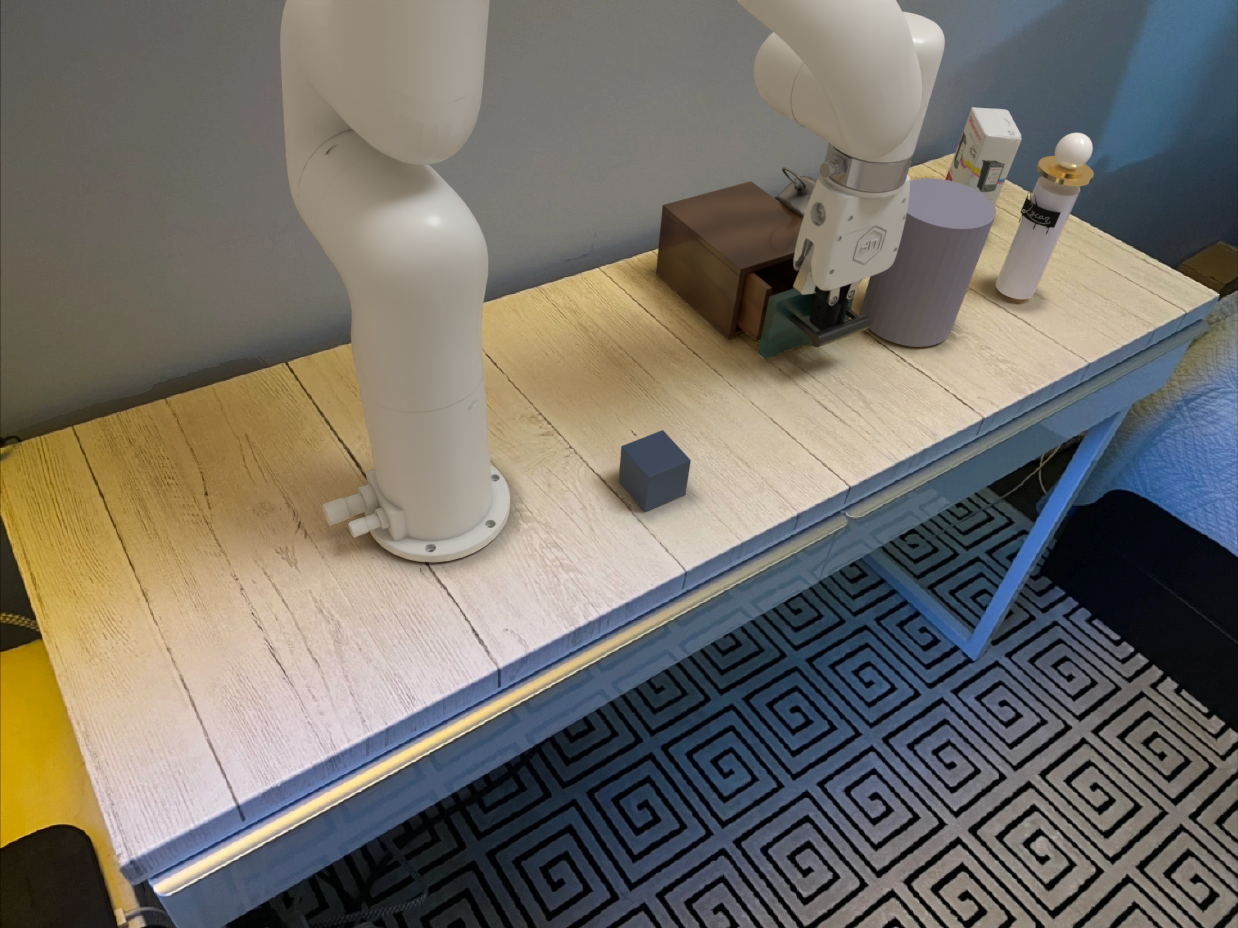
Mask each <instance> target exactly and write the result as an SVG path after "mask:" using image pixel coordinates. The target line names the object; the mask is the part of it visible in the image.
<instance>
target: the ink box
mask: <svg viewBox="0 0 1238 928" xmlns="http://www.w3.org/2000/svg"><path fill="white" fill-rule="evenodd" d="M1021 142H1022V134H1021V132H1020V130H1019V128H1018V126H1017V124H1016V122H1015V121H1014V118H1013V117H1012V115H1011V113H1010V111H1009V110H1008V109H1006V108H1005V109H1004V108H989V107H974V106H972V107H971V108H970V112H969V115H968V117H967V120H966V122H965V126H964V129H963V131H962V134H961V137H960V139H959V142H958V145H957V147H956V150H955V152H954V155H953V157H952V161H951V163H950V166H949V169H948V171H947V174H946V177H945V179H944V180H948V181H953V182H957V183H960V184H963V185H966V186H968V187H971V188H973V189H975V190H977V191H979V192H980V193H982V194H983V195H985V196H986V197H987V198H988V199H989V200H990V201H991V202H992V203H993V205H994V206H995V207H996V205H997V202H998V200H999V197H1000V195H1001V193H1002V190H1003V187H1004V185H1005V182H1006V179H1007V177H1008V174H1009V172H1010V169H1011V168H1012V165H1013V163H1014V159H1015V157H1016V155H1017V152H1018V149H1019V147H1020V145H1021Z"/></svg>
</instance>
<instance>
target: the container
mask: <svg viewBox="0 0 1238 928" xmlns="http://www.w3.org/2000/svg"><path fill="white" fill-rule="evenodd" d="M996 215H997V210H996V205H995V206H994V205H993V203H992V202H991V201H990V200H989V199H988V198H987V197H986V196H985V195H983V194H982V193H980V192H979V191H977V190H975V189H973V188H971V187H968V186H966V185H963V184H960V183H957V182H953V181H948V180H945V179H942V178H929V177H927V178H917V179H916V178H915V179H910V194H909V202H908V209H907V214H906V219H905V224H904V229H903V233H902V237H901V241H900V244H899V248H898V252H897V255H896V258H895V260H894V263H893V264H892V266H891V267H889V268H888V269H887V270H885V271H883V272H881V273H878V274H876V275H873V276H870V277H869V279H868V283H867V286H866V290H865V293H864V296H863V300H862V304H861V307H860V316H862V315H867V316H868V317H869V318H870V320H871V326H870V328H868V329H869V330H870V331H871V332H872V333H874V334H875V335H876V336H878V337H880V338H882V339H883V340H886V341H889V342H891V343H894V344H898V345H902V346H905V347H906V346H907V347H916V348H918V347H919V348H923V347H931V346H934V345H938V344H941V343H943V342H944V341H946V340H947V339H948V337H949V336H950V335H951V333H952V330H953V327H954V325H955V322H956V320H957V317H958V314H959V312H960V309H961V306H962V304H963V302H964V299H965V296H966V294H967V291H968V289H969V286H970V284H971V281H972V278H973V276H974V274H975V271H976V268H977V265H978V263H979V260H980V257H981V255H982V252H983V249H984V247H985V245H986V242H987V240H988V236H989V235H990V231H991V228H992V226H993V223H994V221H995V218H996Z"/></svg>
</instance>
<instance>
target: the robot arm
mask: <svg viewBox="0 0 1238 928" xmlns="http://www.w3.org/2000/svg"><path fill="white" fill-rule="evenodd" d="M735 1H736V2H737V3H738V4H739V5H740V6H741V7H742V8H743V9H744V10H746V11H747V12H748V13H749V14H750V15H752V16H753V17H754V18H756V19H757V20H758V21H759V22H761V23H762V24H763V25H764V26H766V28H767V29H769V30H770V31H772V33H770V34H769V35H768V36H767V37H766V38H765V40H764V41H763V43H761V45H760V47H759V49H758V51H757V53H756V56H755V59H754V65H753V81H754V84H755V87H756V90H757V92H758V93H759V95H760V96H761V98H762V99H763V100H764V101H765V102H766V104H767V105H768V106H770V107H771V108H772V109H774V110H775V111H777V112H778V113H779V114H781V115H783V116H784V117H786V118H788V119H790V120H791V121H793V122H794V123H796V124H797V125H799V126H800V127H802V128H805V129H807V130H808V131H810V132H811V133H813V134H815V135H816V136H818V137H819V138H820V139H823V140H824V141H826V142H827V143H828V144H827V149H826V152H825V157H824V161H823V162H822V163H821V164H820V166H819V173H820V175H819V176H818V178H817V179H816V180H817V182H816V185H815V187H814V189H813V192H812V195H811V197H810V200H809V203H808V205H807V208H806V211H805V214H804V218H803V221H802V224H801V228H800V231H799V235H798V239H797V243H796V248H795V253H794V263H793V265H794V269H795V270H797V271H799V273H798V275H797V277H796V280H795V282H794V285H793V288H794V289H795V290H797V291H798V292H799V293H800V294H802V295H806V294H813V293H815V298H814V302H813V306H812V310H811V314H810V319H809V320H810V323H811V324H813V325H814V326H815V327H816V328H818V329H819V330H820V331H821V330H824V329H827V328H830V327H832V326H835V325H838V324H840V323H843V321H844V318H845V314H846V311H847V307H848V303H849V301H848V299H851V298H853V297H854V298H855V296H856V294H857V291H858V289H859V287H860V284H861V282H862V281H863V280H865V279H867V278H870V276H873V275H876V274H878V273H881V272H883V271H885V270H887V269H888V268H889V267H891V266H892V264H893V263H894V260H895V258H896V255H897V252H898V248H899V244H900V241H901V237H902V233H903V229H904V224H905V219H906V214H907V209H908V202H909V194H910V180H911V177H910V175H909V171H910V168H911V165H912V161H913V158H914V154H915V150H916V147H917V144H918V140H919V136H920V134H921V131H922V127H923V123H924V121H925V117H926V113H927V110H928V107H929V103H930V100H931V97H932V93H933V89H934V86H935V83H936V80H937V76H938V73H939V69H940V66H941V62H942V59H943V55H944V51H945V47H946V46H945V45H946V39H945V38H946V37H945V35H944V32H943V29H942V28H941V27H940V26H939V24H937V22H935V21H934V20H931V19H929V18H927V17H925V16H924V15H920V14H916V13H913V12H908V11H903V10H902V8H901V7H900V5H899V3H898V1H897V0H735ZM489 13H490V0H285V3H284V7H283V10H282V16H281V23H280V32H279V33H280V35H279V36H280V37H279V40H280V41H279V49H280V50H279V51H280V52H279V53H280V72H281V73H280V74H281V95H282V112H283V113H282V114H283V130H284V146H285V147H284V149H285V160H286V161H285V162H286V172H287V179H288V184H289V190H290V194H291V198H292V200H293V203H294V205H295V209H296V210H297V212H298V214H299V216H300V218H301V219H302V221H303V222H304V224H305V225H306V227H307V229H308V230H309V231H310V233H311V234H312V235H313V237H314V238H315V240H316V241H317V242H318V244H319V245H320V247H321V248H322V250H323V252H324V253H325V256H327V258H328V259H329V261H330V262H331V264H332V265H333V266H334V268H335V269H336V271H337V273H338V274H339V276H340V278H341V281H342V282H343V284H344V286H345V290H346V293H347V296H348V299H349V300H348V301H349V305H350V310H351V320H350V322H351V323H350V344H351V353H352V360H353V365H354V370H355V375H356V381H357V384H358V388H359V389H358V390H359V394H360V399H361V405H362V410H363V415H364V421H365V425H366V430H367V435H368V441H369V446H370V451H371V452H370V453H371V457H372V462H373V467H374V469H371V470H368V471H366V472H365V476H366V481H367V484H365V485H362V486H360V487H358V488H357V493H354V494H351V495H348V496H346V497H343V496H341V497H339V498H337V499H333V500H331V501H328V502H325V503H323V504H322V505H321V507H322V511H323V514H324V516H325V519H326V521H327V523H328V525H329V526H334V525H337V524H339V523H343V522H344V521H347V520H350V519H351V518H352V517H355V516H359V515H360V514H363V513H364V517H363V516H362V517H359V518H356V519H353V520H351V521H348V522H347V526H348V529H349V532H350V534H351V537H353V538H357V537H360V536H363V535H365V534H367V533H370V535H371V536H372V538H373V539H374V540H375V542H376V543H377V544H379V545H380V547H382V548H383V549H384V550H386V551H387V552H389V553H391V554H392V555H395V556H397V557H400V558H403V559H405V560H410V561H414V562H420V563H441V562H450V561H455V560H457V559H461V558H462V559H463V558H465V557H467V556H469V555H472V554H475V553H477V552H478V551H479V550H480V551H481V549H483V548H484V547H486V546H488V545H489V544H490V543H491V542H492V541H494V540H495V539H496V538H497V537H498V536H499V534H500V533H501V532H502V530H503V529H504V528H505V525H506V523H507V521H508V520H509V517H510V511H511V495H510V487H509V485H508V483H507V481H506V478H505V477H504V476H503V474H502V473H501V471H499V470H498V469H497V467H495V466H494V465H493V464H491V455H490V453H491V451H490V439H489V438H490V437H489V422H488V407H487V392H486V376H485V365H484V351H483V348H484V347H483V311H484V302H485V296H486V291H487V290H486V289H487V283H488V277H489V253H488V247H487V243H486V238H485V236H484V233H483V230H482V228H481V227H480V224H479V223H478V220H477V219H476V217H475V216H474V214H473V212H472V211H471V209H470V208H469V207H468V205H467V204H466V202H465V201H464V200H463V198H462V197H461V196H460V195H459V194H458V193H457V191H456V190H454V189H453V188H452V187H451V186H450V185H449V184H448V182H447V181H446V180H445V179H444V178H443V177H442V176H441V175H440V174H439V173H438V172H437V171H436V170H435V169H434V168H433V166H431V165H434V164H438V163H442V162H444V161H446V160H448V159H450V158H452V157H453V156H454V155H456V153H458V152H459V151H460V150H461V149H462V148H463V146H464V145H465V144H466V143H467V142H468V140H469V138H470V136H471V135H472V134H473V131H474V129H475V127H476V124H477V121H478V119H479V113H480V111H481V106H482V105H481V104H482V99H483V89H484V76H485V62H486V50H487V38H488V27H489V26H488V25H489V15H490V14H489Z"/></svg>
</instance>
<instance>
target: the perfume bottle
mask: <svg viewBox="0 0 1238 928" xmlns="http://www.w3.org/2000/svg"><path fill="white" fill-rule="evenodd" d="M1093 150H1094V146H1093V142H1092V140H1091V138H1090V137H1089V136H1088V135H1086V134H1084V132H1083V133H1082V132H1071V133H1068V134H1066V135H1065V136H1063V137H1062V138H1061V139H1059V141H1058V142H1057V144H1056V145H1055V148H1054V155H1049V156H1045V157H1044V156H1043V157H1042V158H1041V159H1039V160H1038V162H1037V165H1036V171H1037V173H1038V174H1039V175H1040V177H1038V179H1037V180H1036V183H1035V186H1034V188H1033V191H1030V193H1029V194H1026V195H1027V196H1026V197H1025V200H1024V202H1023V205H1022V207H1021V210H1020V214H1021V216H1020V218H1019V220H1018V227H1017V229H1016V232H1015V234H1014V236H1013V239H1012V242H1011V245H1010V246H1009V249H1008V252H1007V254H1006V256H1005V259H1004V261H1003V264H1002V266H1001V269H1000V271H999V274H998V276H997V278H996V280H995V283H994V284H995V288H996V290H998V292H1000V294H1002V295H1004V296H1006V297H1009V298H1011V299H1015V300H1028V299H1031V298H1032V297H1034V295H1035V293H1036V291H1037V289H1038V287H1039V284H1040V282H1041V280H1042V277H1043V275H1044V274H1045V271H1046V268H1047V266H1048V265H1049V262H1050V260H1051V257H1052V255H1053V253H1054V251H1055V249H1056V246H1057V244H1058V242H1059V240H1060V237H1061V235H1062V233H1063V231H1064V228H1065V226H1066V224H1067V221H1068V220H1069V218H1070V215H1071V213H1072V211H1073V208H1074V206H1075V204H1076V202H1077V199H1078V198H1079V194H1080V193H1081V187H1083V186H1087V185H1089V184H1090V183H1091V182H1092V180H1093V178H1094V176H1095V173H1094V170H1093V169H1092V168H1091V167H1090V166H1089V165H1087V162H1088V161H1089V160H1090V158H1091V157H1092V155H1093ZM1029 190H1030V189H1028V190H1027V192H1029Z"/></svg>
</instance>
